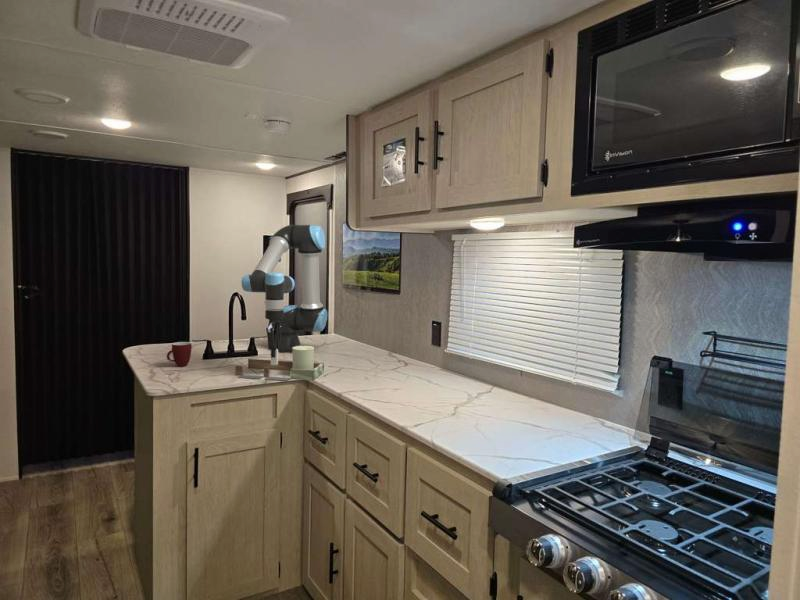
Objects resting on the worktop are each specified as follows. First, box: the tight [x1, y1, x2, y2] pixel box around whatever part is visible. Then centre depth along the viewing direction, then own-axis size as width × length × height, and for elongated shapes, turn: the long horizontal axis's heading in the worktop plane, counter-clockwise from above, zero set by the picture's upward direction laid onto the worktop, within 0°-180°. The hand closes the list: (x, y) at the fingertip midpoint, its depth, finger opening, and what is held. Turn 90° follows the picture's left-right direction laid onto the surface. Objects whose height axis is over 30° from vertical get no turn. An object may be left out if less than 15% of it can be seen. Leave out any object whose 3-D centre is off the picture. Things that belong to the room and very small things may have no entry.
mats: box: [237, 374, 291, 382], centre depth 219 cm, size 4×21×1 cm, turn 82°
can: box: [292, 345, 315, 370], centre depth 227 cm, size 9×9×12 cm
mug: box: [166, 341, 193, 368], centre depth 236 cm, size 10×8×10 cm
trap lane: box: [234, 358, 325, 381], centre depth 228 cm, size 14×34×4 cm, turn 82°
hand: (274, 364), depth 228 cm, fingers closed
